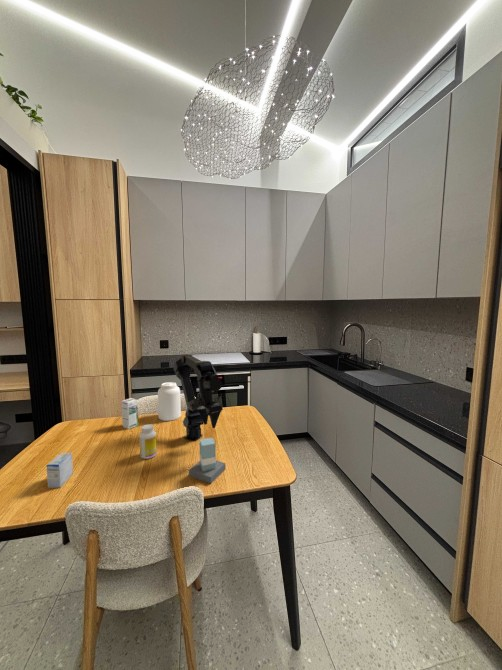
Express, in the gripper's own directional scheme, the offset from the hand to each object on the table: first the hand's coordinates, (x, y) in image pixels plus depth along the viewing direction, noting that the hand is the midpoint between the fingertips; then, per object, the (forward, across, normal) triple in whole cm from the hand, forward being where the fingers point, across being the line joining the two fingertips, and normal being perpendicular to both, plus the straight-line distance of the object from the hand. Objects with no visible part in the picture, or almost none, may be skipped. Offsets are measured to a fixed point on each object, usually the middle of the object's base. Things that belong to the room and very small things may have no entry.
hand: (209, 426), depth 119 cm
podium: (+14, +11, -7) cm, 19 cm away
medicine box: (+9, -12, -54) cm, 57 cm away
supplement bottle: (+9, -14, -24) cm, 29 cm away
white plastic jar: (+2, -50, -4) cm, 50 cm away
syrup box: (+2, -48, -26) cm, 55 cm away
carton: (+12, +11, -7) cm, 18 cm away
